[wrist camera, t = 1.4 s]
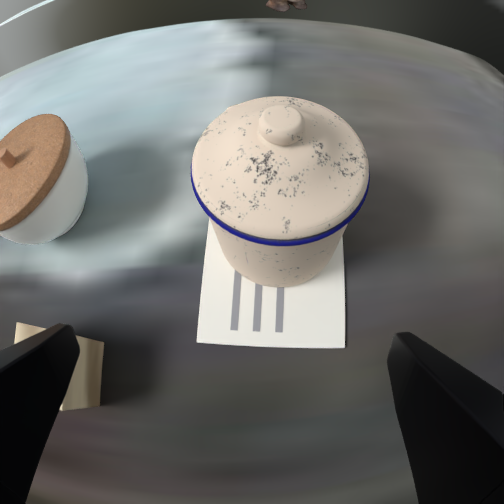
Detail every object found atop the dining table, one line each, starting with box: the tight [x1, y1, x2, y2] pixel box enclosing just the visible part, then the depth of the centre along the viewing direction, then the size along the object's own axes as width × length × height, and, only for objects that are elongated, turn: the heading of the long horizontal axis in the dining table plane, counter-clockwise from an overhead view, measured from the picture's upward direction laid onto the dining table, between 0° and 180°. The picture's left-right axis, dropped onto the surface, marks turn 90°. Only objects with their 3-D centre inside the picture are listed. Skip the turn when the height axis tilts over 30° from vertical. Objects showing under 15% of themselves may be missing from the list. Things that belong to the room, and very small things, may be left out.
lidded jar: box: [0, 114, 88, 245], centre depth 21 cm, size 11×11×9 cm
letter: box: [197, 219, 345, 348], centre depth 23 cm, size 12×10×1 cm
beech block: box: [14, 322, 104, 410], centre depth 18 cm, size 5×5×5 cm
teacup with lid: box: [191, 96, 370, 287], centre depth 18 cm, size 12×9×12 cm
